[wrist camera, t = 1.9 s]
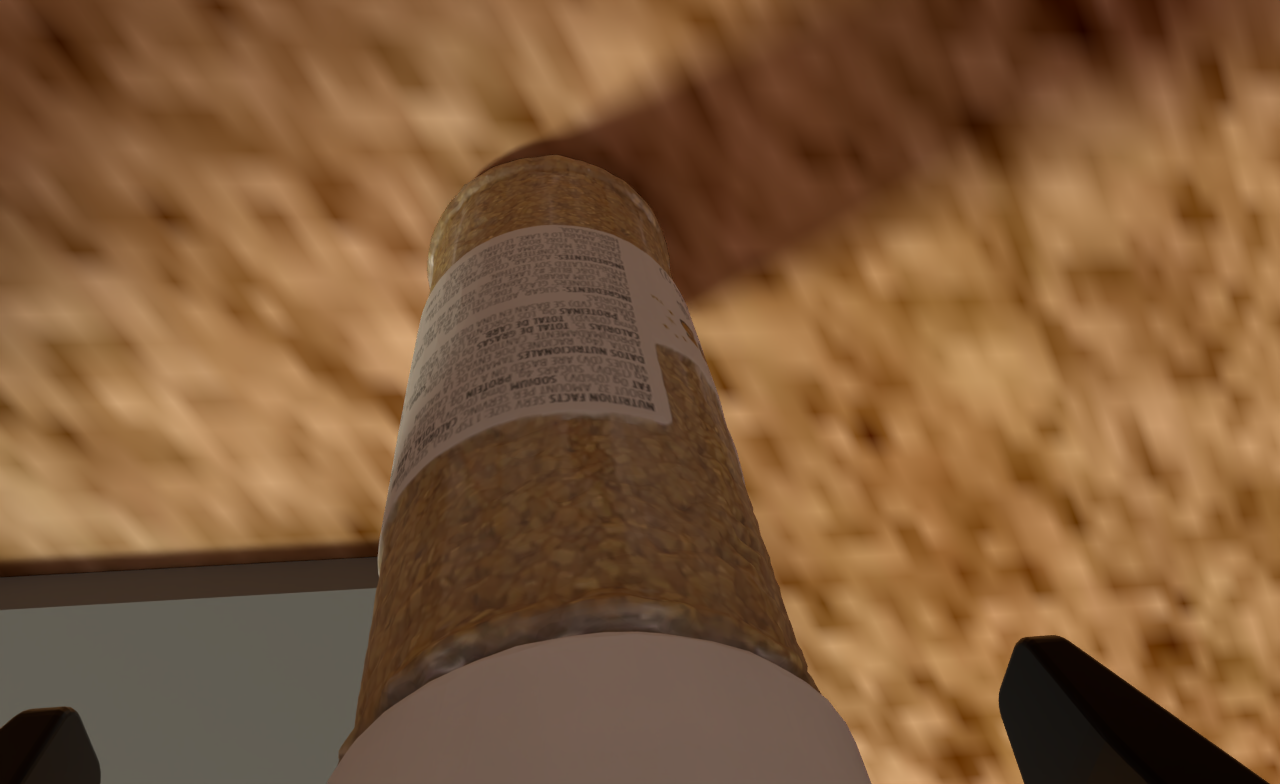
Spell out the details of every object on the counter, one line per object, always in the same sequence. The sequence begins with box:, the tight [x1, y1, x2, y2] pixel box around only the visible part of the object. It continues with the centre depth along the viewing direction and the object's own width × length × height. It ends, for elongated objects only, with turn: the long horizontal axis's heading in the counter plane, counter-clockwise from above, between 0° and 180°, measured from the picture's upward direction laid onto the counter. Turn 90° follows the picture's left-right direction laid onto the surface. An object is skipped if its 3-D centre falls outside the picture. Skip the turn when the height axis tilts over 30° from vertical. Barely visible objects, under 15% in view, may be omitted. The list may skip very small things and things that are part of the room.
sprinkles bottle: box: [327, 155, 871, 784], centre depth 12 cm, size 5×5×13 cm
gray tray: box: [0, 557, 379, 784], centre depth 23 cm, size 16×12×1 cm
